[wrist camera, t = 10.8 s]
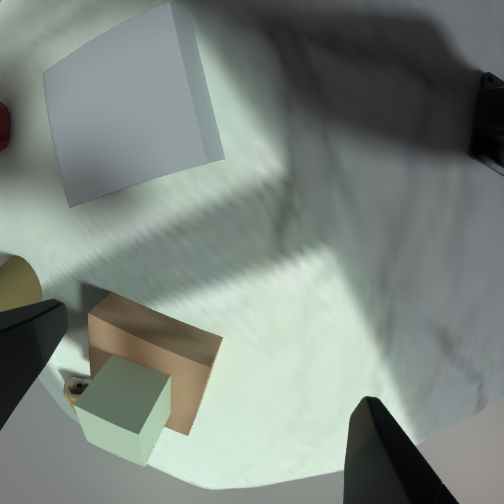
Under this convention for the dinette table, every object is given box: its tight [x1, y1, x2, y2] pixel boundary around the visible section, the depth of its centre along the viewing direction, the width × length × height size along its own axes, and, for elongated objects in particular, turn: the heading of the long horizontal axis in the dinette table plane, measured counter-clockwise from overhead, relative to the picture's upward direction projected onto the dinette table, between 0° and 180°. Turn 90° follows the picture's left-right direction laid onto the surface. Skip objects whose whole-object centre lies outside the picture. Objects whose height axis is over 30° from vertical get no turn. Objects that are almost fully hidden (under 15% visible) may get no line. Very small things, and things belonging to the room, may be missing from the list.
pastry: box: [64, 377, 91, 414], centre depth 29 cm, size 9×7×4 cm
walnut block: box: [88, 292, 223, 436], centre depth 24 cm, size 10×10×4 cm
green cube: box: [73, 354, 171, 467], centre depth 19 cm, size 5×5×6 cm
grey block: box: [43, 1, 225, 208], centre depth 16 cm, size 10×10×4 cm
